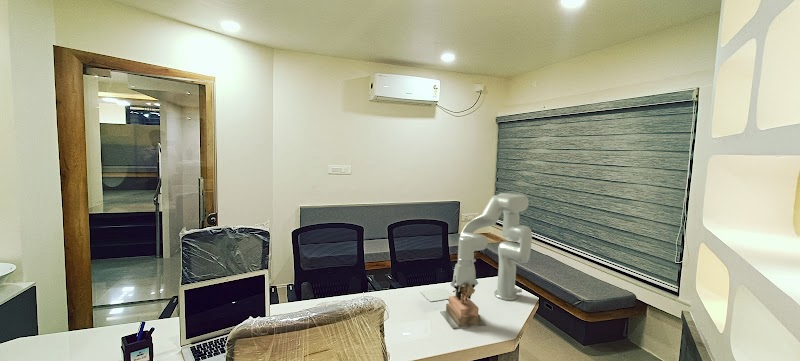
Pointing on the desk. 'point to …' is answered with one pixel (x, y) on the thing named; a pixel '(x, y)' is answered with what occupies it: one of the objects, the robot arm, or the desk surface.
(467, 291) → the lion figurine
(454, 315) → the block tower
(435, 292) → the paper stack
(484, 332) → the desk surface
